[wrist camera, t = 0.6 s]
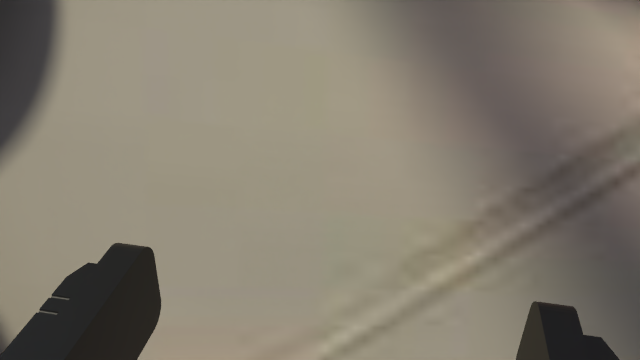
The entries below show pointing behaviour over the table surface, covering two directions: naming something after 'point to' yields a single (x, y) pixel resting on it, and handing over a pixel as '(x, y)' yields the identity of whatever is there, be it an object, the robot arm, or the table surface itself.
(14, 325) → the table surface
